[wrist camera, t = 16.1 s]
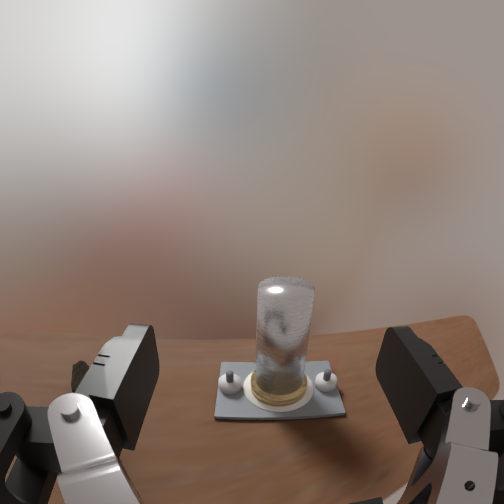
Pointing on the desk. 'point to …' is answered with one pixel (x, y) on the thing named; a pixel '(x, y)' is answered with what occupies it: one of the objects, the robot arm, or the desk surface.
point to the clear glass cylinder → (282, 340)
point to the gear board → (249, 408)
